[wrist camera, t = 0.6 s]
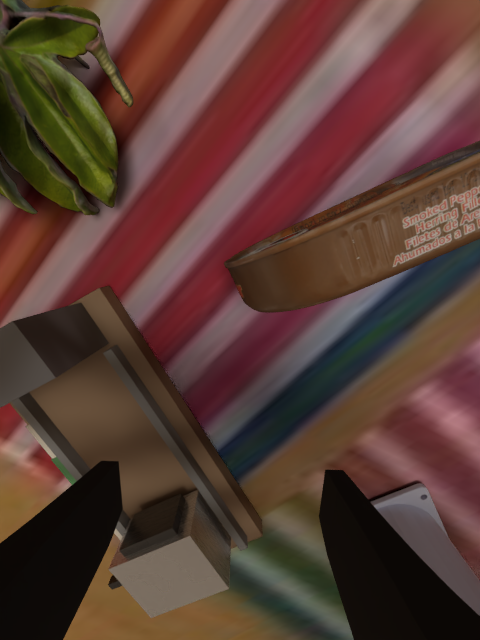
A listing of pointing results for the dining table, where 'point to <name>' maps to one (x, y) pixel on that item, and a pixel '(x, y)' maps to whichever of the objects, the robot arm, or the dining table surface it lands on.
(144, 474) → the base
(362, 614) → the robot arm
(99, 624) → the dining table surface
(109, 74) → the passion flower
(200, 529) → the block
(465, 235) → the tin
